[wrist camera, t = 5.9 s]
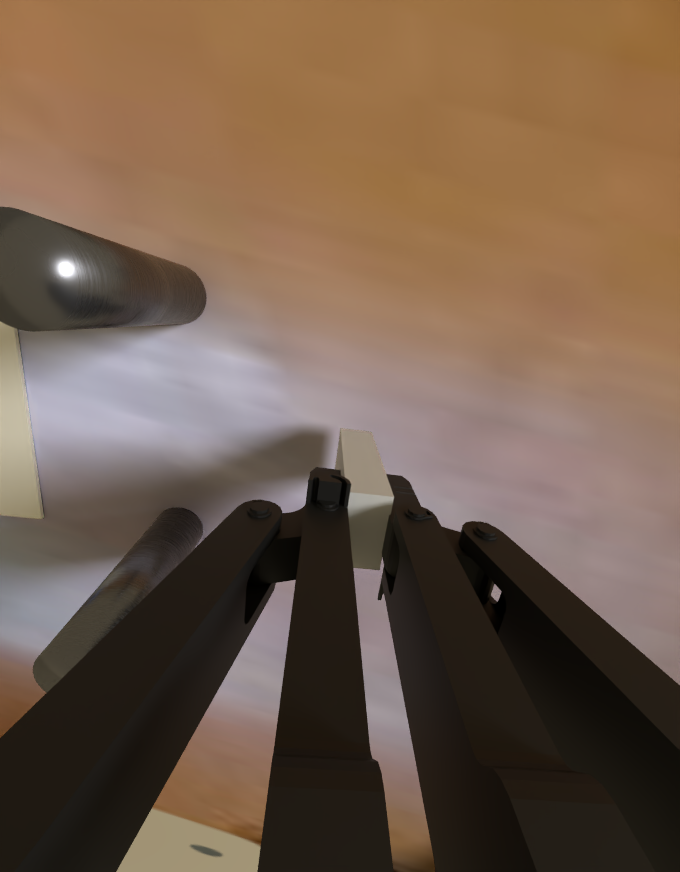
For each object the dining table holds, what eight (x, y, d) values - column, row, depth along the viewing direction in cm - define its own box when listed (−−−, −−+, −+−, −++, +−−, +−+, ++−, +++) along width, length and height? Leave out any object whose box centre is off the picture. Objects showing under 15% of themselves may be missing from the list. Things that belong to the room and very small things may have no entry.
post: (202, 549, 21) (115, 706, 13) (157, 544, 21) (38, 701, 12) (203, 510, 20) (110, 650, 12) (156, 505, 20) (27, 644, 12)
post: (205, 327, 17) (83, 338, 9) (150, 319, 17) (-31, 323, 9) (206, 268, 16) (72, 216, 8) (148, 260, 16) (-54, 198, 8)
